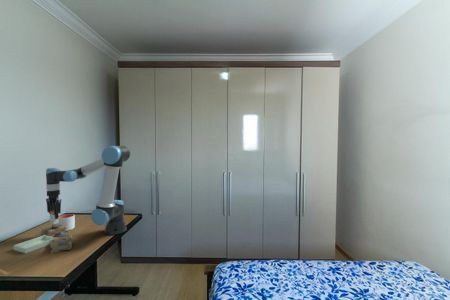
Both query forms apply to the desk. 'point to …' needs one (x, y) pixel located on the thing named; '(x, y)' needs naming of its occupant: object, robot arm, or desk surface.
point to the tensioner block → (55, 231)
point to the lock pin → (53, 220)
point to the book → (61, 243)
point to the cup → (67, 221)
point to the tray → (33, 244)
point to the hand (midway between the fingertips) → (54, 222)
